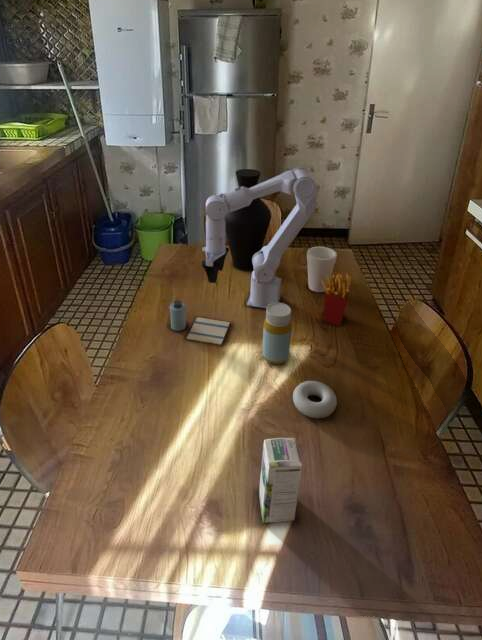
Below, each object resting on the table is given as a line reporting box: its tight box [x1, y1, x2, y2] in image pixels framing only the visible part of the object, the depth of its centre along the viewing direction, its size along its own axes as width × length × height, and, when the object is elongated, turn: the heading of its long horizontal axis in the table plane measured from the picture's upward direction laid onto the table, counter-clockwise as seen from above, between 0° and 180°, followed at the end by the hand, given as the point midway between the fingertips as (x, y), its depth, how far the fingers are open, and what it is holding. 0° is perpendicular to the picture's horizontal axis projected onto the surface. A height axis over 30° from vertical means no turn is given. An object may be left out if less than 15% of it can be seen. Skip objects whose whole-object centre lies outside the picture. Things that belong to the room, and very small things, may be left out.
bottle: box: [261, 302, 292, 365], centre depth 112 cm, size 7×7×15 cm
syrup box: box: [258, 437, 303, 524], centre depth 76 cm, size 6×6×14 cm
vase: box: [225, 168, 272, 271], centre depth 152 cm, size 17×17×35 cm
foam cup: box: [306, 246, 338, 293], centre depth 144 cm, size 10×9×13 cm
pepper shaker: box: [169, 299, 187, 332], centre depth 124 cm, size 4×4×8 cm
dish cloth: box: [186, 316, 231, 346], centre depth 124 cm, size 10×10×1 cm
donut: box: [292, 380, 338, 419], centre depth 100 cm, size 10×4×10 cm
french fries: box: [321, 273, 352, 326], centre depth 128 cm, size 9×8×15 cm
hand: (215, 275), depth 134 cm, fingers open, 7 cm apart
